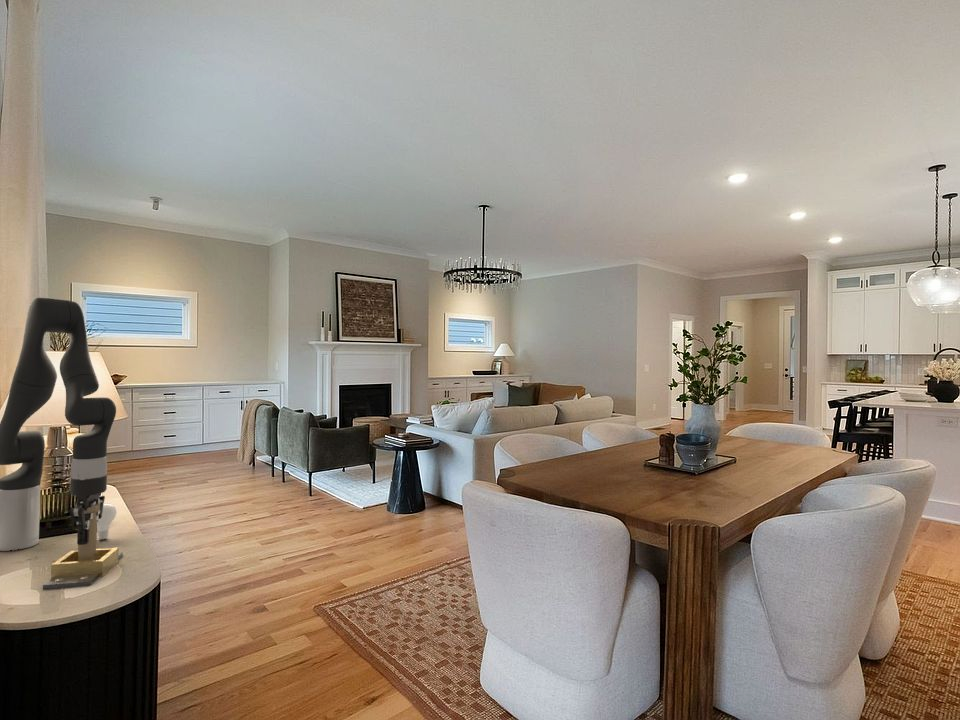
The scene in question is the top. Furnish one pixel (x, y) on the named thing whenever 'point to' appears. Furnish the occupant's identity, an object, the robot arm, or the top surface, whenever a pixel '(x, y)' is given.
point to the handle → (90, 537)
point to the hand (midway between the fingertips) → (87, 540)
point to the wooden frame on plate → (81, 568)
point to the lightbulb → (106, 520)
